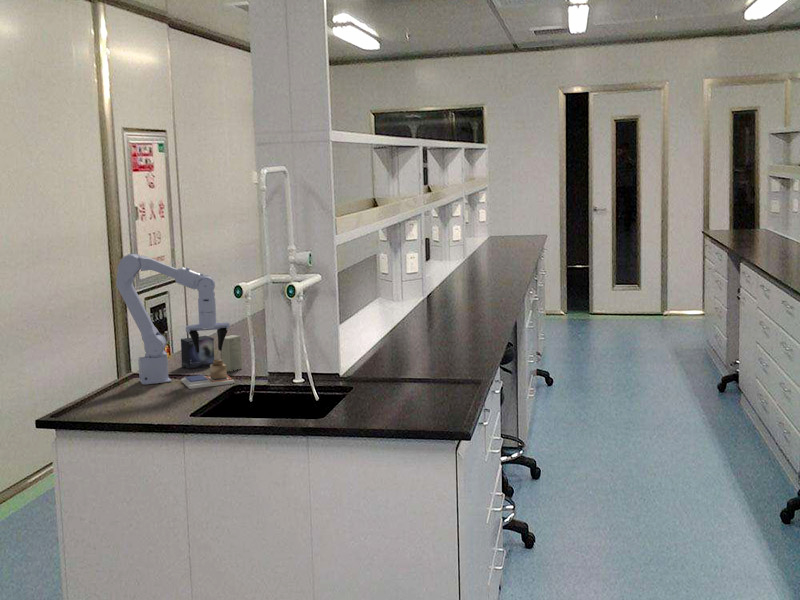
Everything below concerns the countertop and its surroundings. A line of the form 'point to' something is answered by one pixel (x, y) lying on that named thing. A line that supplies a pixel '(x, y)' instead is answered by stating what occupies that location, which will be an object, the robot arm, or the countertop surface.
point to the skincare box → (232, 352)
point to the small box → (197, 359)
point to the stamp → (218, 370)
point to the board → (204, 381)
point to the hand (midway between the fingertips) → (208, 351)
